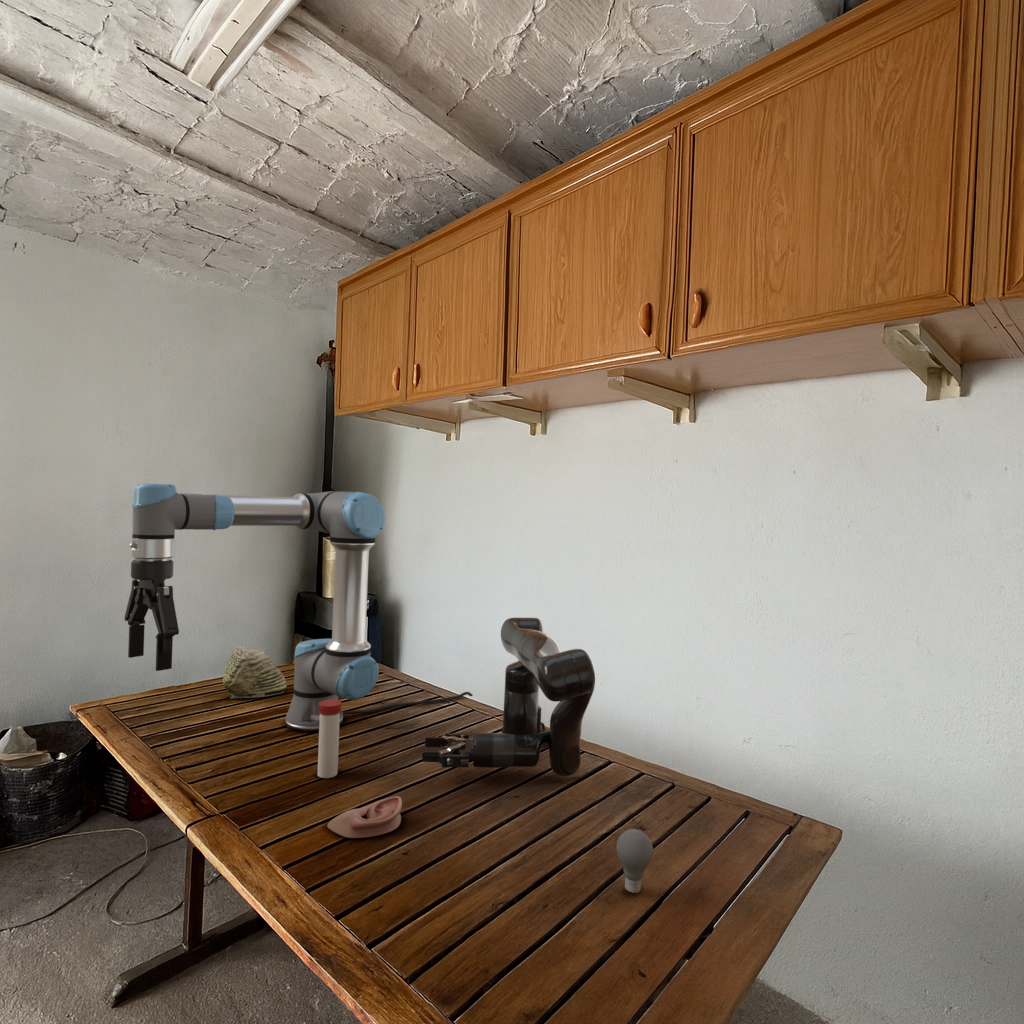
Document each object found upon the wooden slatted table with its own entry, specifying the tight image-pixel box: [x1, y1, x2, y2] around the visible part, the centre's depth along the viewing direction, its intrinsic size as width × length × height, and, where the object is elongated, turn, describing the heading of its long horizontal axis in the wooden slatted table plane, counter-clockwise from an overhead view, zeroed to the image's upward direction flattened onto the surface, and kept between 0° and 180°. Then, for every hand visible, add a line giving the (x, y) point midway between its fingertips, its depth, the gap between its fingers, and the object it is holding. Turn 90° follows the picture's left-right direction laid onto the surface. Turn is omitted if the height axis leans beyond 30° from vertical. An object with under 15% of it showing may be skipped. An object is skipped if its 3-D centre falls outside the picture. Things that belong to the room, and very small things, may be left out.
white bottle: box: [317, 713, 340, 779], centre depth 145 cm, size 4×4×16 cm
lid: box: [319, 699, 343, 715], centre depth 145 cm, size 5×5×2 cm
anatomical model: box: [327, 795, 403, 839], centre depth 123 cm, size 13×4×12 cm
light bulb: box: [615, 828, 654, 894], centre depth 106 cm, size 6×6×10 cm
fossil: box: [222, 646, 288, 699], centre depth 198 cm, size 9×18×15 cm, turn 132°
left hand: (149, 662), depth 129 cm, fingers open, 13 cm apart
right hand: (423, 749), depth 146 cm, fingers open, 8 cm apart
